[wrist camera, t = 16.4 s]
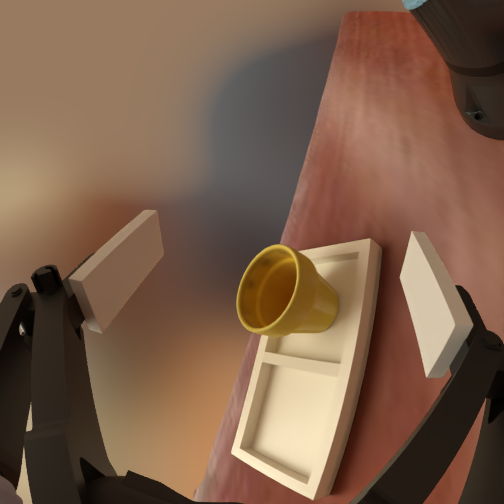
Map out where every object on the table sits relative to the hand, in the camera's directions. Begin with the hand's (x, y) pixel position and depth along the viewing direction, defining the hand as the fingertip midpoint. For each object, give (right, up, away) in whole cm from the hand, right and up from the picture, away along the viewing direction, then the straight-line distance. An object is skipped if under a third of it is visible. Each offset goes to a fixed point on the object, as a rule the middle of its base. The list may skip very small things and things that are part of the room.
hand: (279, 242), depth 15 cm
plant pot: (+8, -8, +24) cm, 26 cm away
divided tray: (+6, -15, +22) cm, 28 cm away
